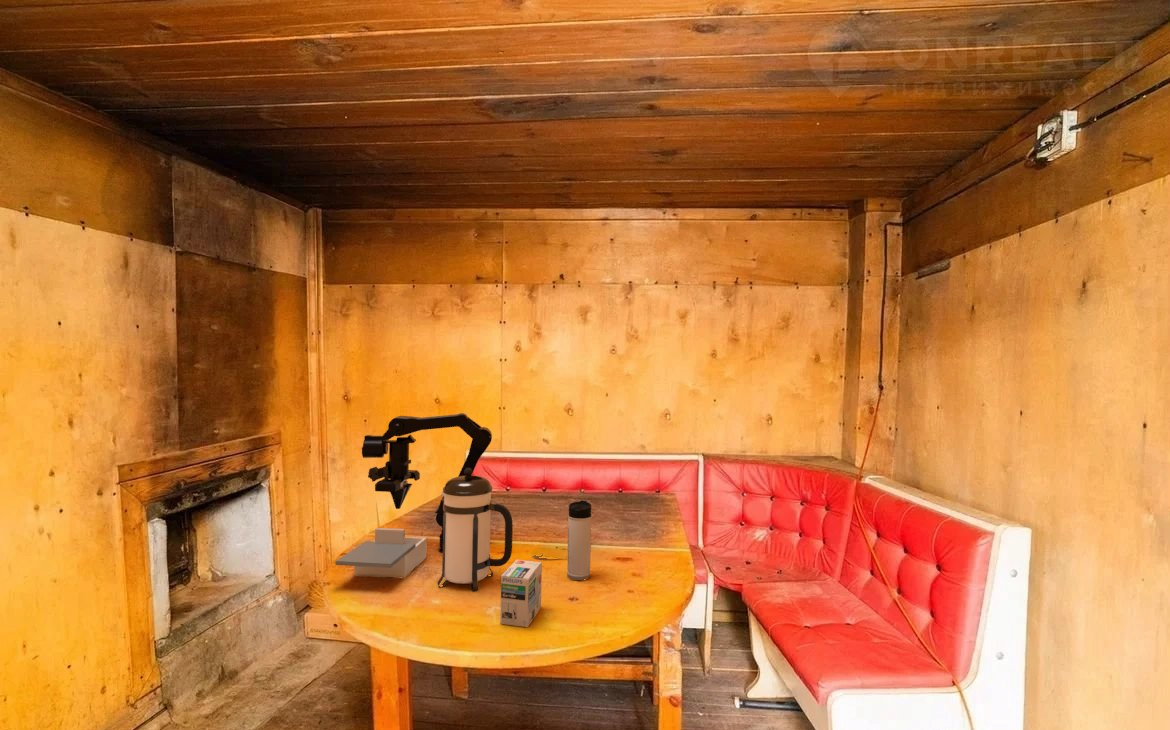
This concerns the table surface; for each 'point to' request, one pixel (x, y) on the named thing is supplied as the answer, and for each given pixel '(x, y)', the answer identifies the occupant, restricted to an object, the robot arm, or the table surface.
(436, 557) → the table surface
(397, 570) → the grey parts tub
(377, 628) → the table surface
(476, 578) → the coffee press
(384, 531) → the slate lid
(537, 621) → the table surface
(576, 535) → the travel mug
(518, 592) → the light bulb box
